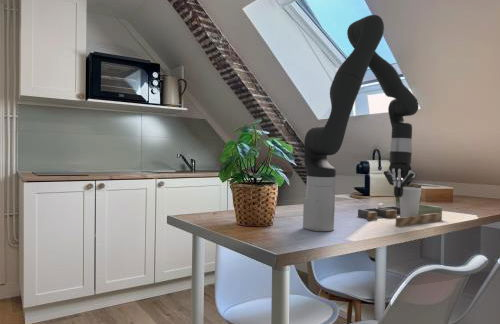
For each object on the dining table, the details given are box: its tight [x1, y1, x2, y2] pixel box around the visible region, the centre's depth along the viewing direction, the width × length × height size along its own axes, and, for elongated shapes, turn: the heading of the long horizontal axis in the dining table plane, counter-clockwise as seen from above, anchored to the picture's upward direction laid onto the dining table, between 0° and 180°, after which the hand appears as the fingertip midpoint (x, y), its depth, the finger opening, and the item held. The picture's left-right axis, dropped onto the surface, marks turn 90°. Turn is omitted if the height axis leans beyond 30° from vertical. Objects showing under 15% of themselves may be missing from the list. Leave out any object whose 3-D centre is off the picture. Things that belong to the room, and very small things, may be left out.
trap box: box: [357, 203, 443, 227], centre depth 141 cm, size 27×20×5 cm
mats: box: [377, 214, 400, 220], centre depth 147 cm, size 19×6×1 cm, turn 123°
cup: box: [399, 187, 422, 217], centre depth 141 cm, size 8×8×12 cm
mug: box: [395, 182, 422, 207], centre depth 160 cm, size 16×11×12 cm
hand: (398, 197), depth 136 cm, fingers closed
